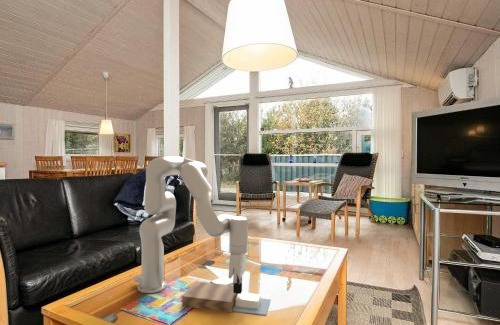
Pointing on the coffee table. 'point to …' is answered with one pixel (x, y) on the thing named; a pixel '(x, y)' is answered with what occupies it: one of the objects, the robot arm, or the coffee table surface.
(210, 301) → the block
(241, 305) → the white rectangular block
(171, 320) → the coffee table surface
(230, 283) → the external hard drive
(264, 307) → the mat
